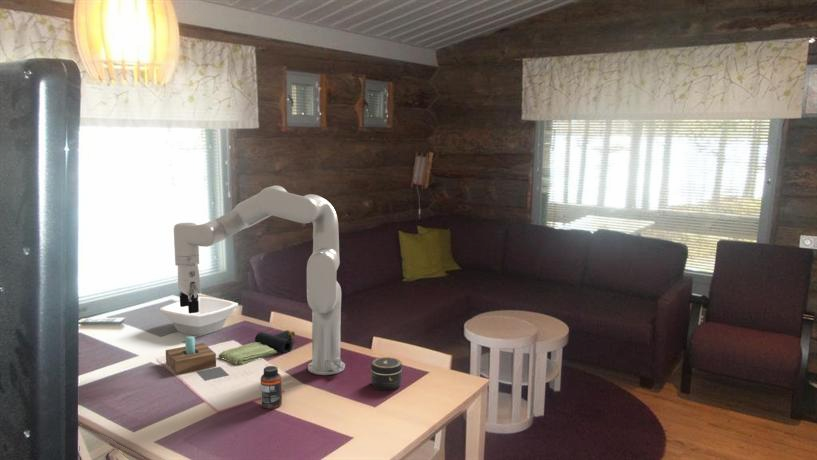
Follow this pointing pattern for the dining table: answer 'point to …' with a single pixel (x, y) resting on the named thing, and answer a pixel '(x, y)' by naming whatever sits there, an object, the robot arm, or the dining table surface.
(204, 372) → the mat
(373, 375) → the jar
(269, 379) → the supplement bottle
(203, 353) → the hole block
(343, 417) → the dining table surface
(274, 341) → the pipe connector
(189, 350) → the peg
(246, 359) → the washcloth
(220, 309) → the bowl
